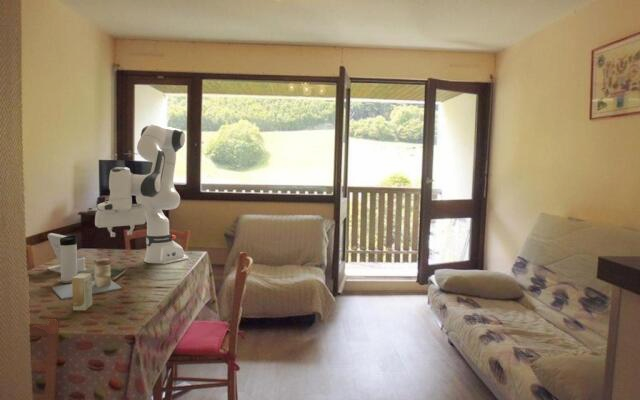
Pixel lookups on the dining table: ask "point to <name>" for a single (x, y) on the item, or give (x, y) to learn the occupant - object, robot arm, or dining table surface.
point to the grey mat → (67, 292)
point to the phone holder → (55, 241)
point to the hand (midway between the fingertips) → (121, 235)
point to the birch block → (102, 272)
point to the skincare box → (82, 291)
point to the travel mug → (68, 258)
